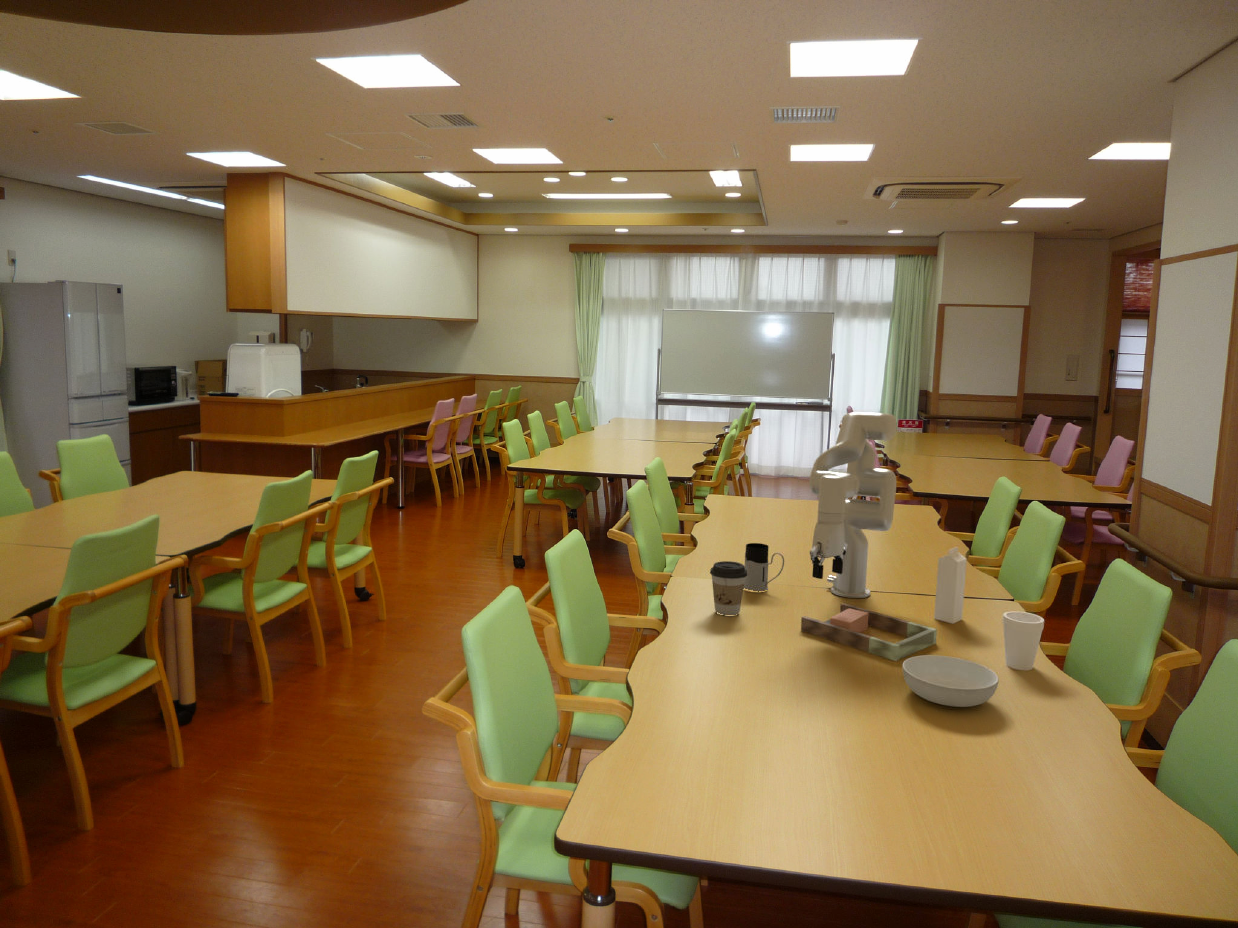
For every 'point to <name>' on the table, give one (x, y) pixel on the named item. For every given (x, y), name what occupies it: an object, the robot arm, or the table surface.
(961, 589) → the milk
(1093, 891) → the table surface
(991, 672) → the serving bowl
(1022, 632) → the foam cup
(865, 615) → the terracotta block
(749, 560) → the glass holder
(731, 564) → the coffee cup
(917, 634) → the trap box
